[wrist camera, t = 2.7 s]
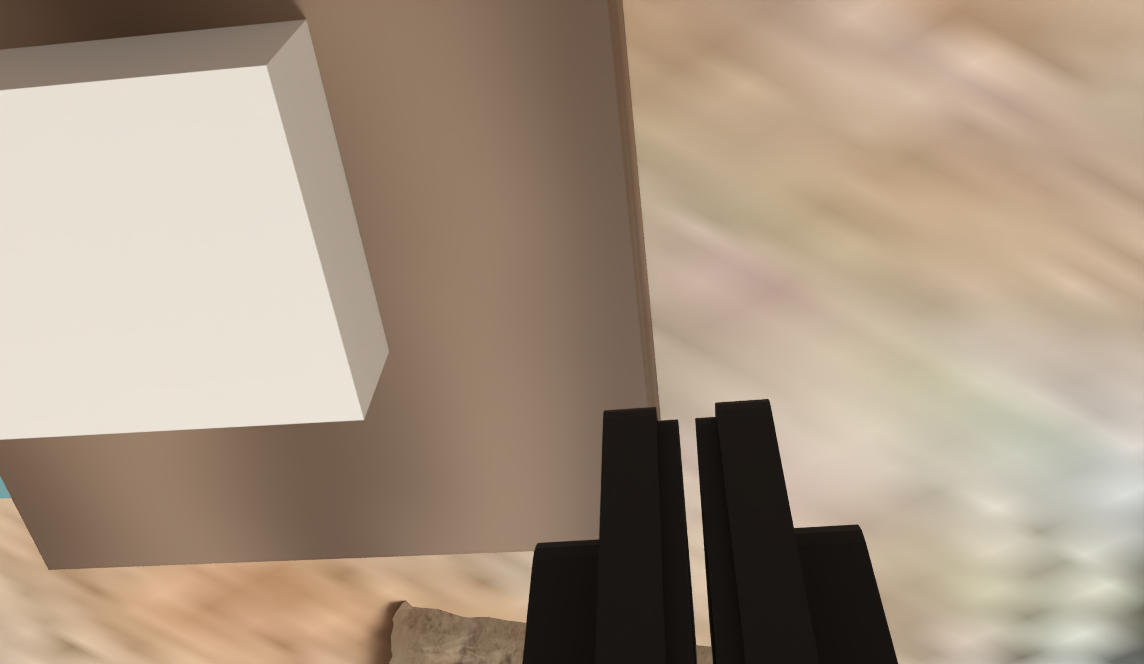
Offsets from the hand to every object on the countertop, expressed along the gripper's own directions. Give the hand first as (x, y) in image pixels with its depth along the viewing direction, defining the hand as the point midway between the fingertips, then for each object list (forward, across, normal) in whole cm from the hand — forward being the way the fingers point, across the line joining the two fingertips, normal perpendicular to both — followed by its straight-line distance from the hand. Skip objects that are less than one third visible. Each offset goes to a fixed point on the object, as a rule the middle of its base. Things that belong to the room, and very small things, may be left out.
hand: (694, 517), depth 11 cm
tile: (+8, +9, -1) cm, 12 cm away
